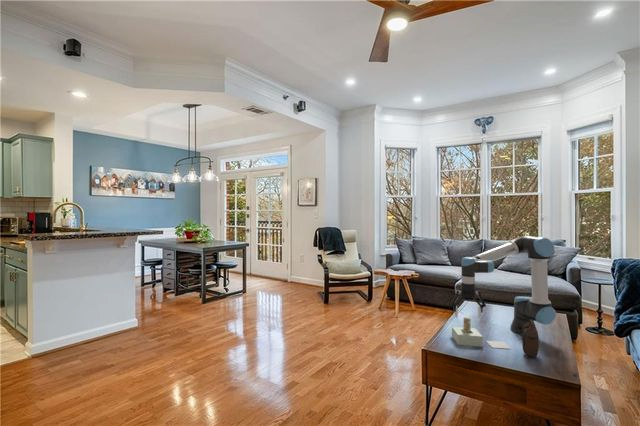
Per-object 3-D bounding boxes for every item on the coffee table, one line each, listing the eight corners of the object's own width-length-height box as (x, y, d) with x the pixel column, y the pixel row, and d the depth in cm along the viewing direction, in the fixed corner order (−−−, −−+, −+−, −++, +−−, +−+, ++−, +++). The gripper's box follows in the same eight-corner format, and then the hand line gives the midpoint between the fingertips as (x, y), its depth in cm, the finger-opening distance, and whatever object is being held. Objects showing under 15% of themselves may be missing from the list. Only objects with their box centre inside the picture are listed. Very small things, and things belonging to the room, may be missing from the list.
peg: (469, 340, 207) (469, 317, 207) (471, 342, 203) (471, 319, 203) (462, 339, 208) (462, 317, 208) (464, 342, 204) (464, 319, 204)
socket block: (474, 337, 212) (475, 328, 212) (482, 346, 198) (482, 336, 198) (451, 336, 213) (451, 326, 213) (457, 344, 200) (458, 334, 200)
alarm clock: (520, 350, 194) (521, 315, 194) (535, 353, 190) (536, 317, 190) (522, 360, 181) (523, 323, 181) (538, 363, 177) (539, 325, 177)
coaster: (503, 342, 205) (503, 341, 205) (510, 349, 195) (510, 348, 195) (486, 341, 206) (486, 340, 206) (492, 347, 196) (492, 347, 196)
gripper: (487, 282, 207) (487, 316, 208) (445, 280, 211) (445, 314, 211) (491, 284, 200) (491, 320, 200) (448, 283, 203) (448, 318, 203)
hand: (467, 317), depth 206 cm, fingers open, 13 cm apart
